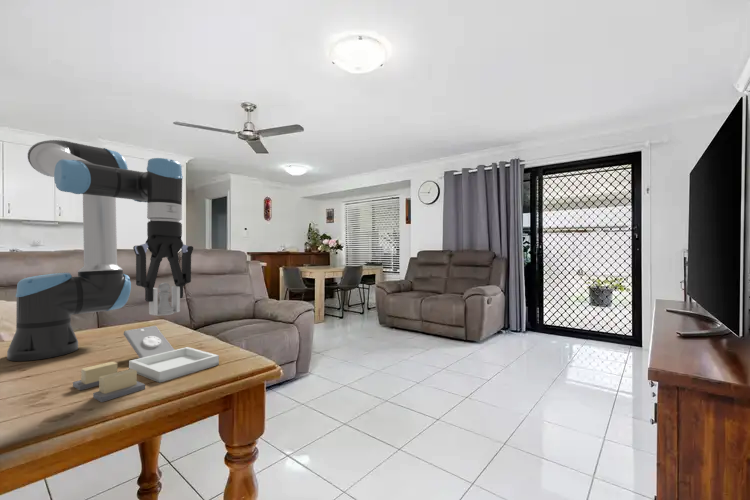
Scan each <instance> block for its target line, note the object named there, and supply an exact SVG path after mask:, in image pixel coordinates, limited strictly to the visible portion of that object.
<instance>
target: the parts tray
mask: <svg viewBox="0 0 750 500" xmlns="http://www.w3.org/2000/svg"><path fill="white" fill-rule="evenodd" d="M219 365H220V355H219V354H215V353H212V352H208V351H205V350H200V349H197V348H193V347H190V346H186V347H182V348H178V349H174V350H173V351H168V352H164V353H160V354H156V355H152V356H147V357H143V358H139V357H138V358H135V359H132V360H128V369H133V370H136V371H137V375H139V376H142V377H144V378H147V379H149V380H152V381H155V382H156V383H159V384H161V383H163V382H167V381H170V380H174V379H176V378H181V377H184V376H187V375H190V374H193V373H196V372H200V371H203V370H205V369H209V368H212V367H215V366H219Z"/></svg>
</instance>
